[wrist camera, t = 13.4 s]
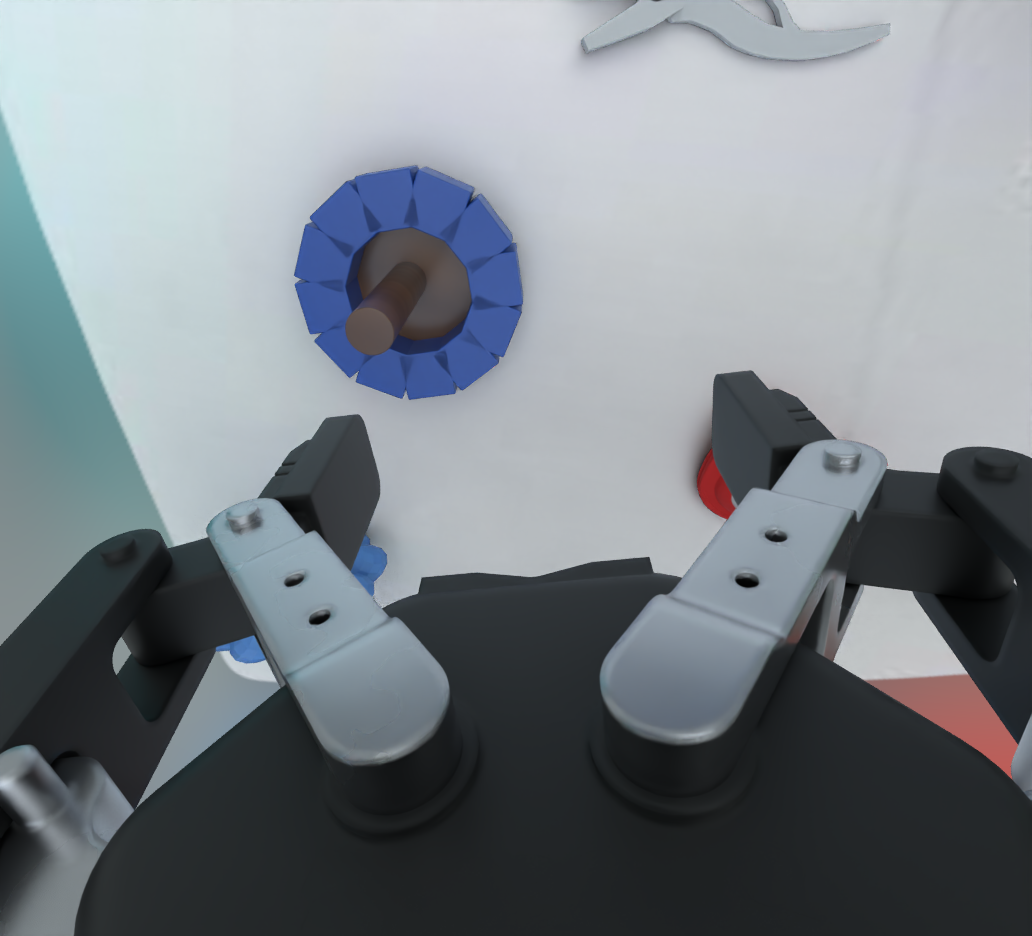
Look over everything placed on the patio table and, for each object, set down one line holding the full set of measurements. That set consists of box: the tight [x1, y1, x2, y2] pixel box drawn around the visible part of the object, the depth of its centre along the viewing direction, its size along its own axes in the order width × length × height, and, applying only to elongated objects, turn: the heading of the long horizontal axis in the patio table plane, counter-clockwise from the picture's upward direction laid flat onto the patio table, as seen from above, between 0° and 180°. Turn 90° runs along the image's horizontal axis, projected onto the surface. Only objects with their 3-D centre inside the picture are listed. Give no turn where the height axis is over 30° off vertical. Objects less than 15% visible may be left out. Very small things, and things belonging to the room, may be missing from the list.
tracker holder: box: [697, 449, 738, 519], centre depth 42 cm, size 12×4×10 cm
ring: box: [294, 165, 523, 400], centre depth 36 cm, size 12×12×3 cm
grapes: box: [216, 534, 387, 663], centre depth 42 cm, size 12×7×12 cm, turn 99°
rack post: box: [345, 228, 472, 355], centre depth 33 cm, size 8×8×12 cm
